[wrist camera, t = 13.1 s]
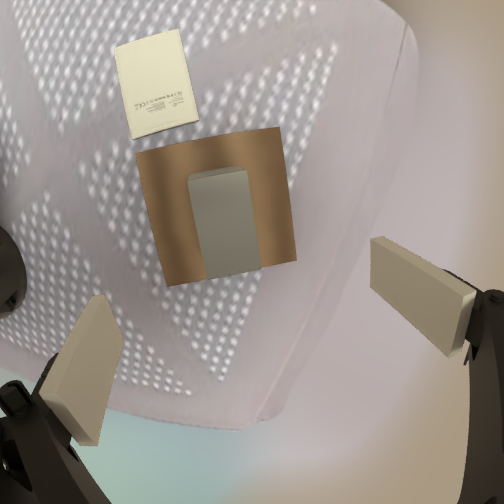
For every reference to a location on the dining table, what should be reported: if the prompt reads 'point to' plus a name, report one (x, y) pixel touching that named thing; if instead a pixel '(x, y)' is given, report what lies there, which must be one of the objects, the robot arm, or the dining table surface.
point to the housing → (224, 221)
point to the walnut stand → (180, 208)
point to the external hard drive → (155, 84)
